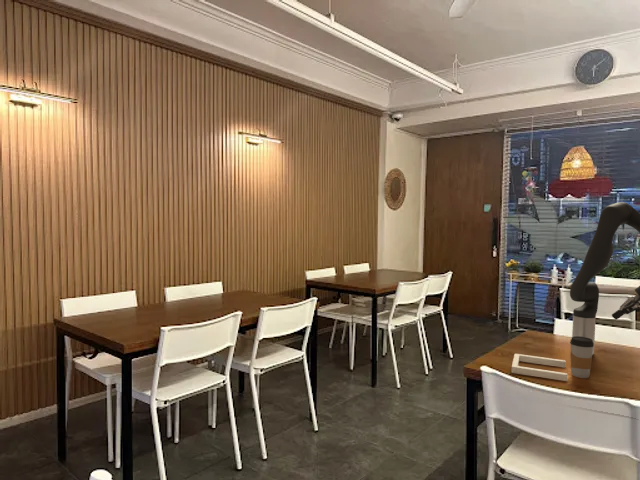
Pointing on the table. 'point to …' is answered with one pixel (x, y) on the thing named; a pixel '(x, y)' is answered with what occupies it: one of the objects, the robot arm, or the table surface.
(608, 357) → the table surface
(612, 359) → the table surface
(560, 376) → the frame
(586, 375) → the coffee cup
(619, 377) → the table surface
